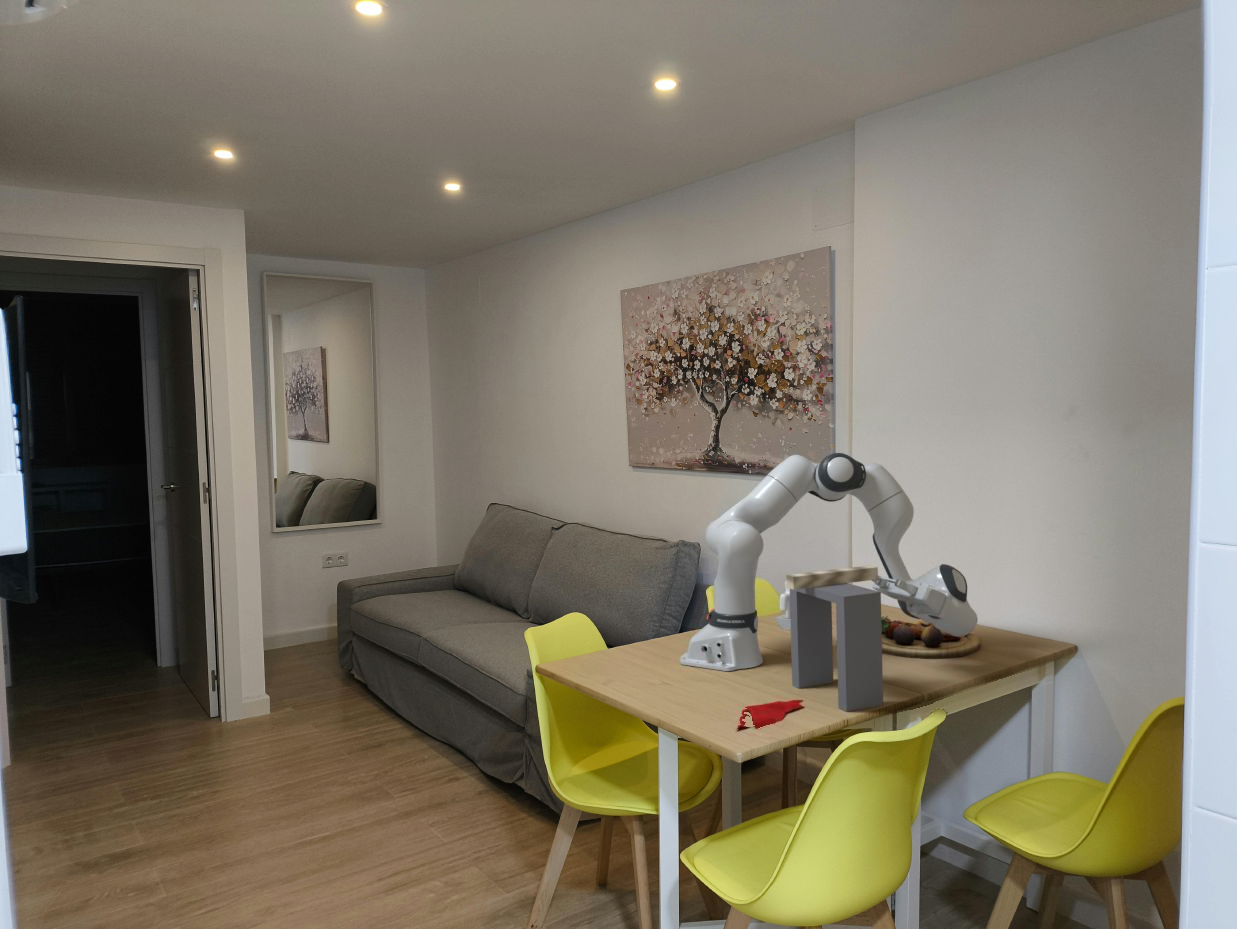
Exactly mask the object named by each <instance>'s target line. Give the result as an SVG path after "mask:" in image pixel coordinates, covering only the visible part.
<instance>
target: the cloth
mask: <svg viewBox="0 0 1237 929" xmlns="http://www.w3.org/2000/svg"><path fill="white" fill-rule="evenodd" d="M803 702H804V700H803V699H792V700H788V701H783V700H782V701H781V700H778V701H773V702H767V703H762V704H755V705H747V706H745V707H744V709H742V710H741V712H742V713H741V714H742V715H743V716H742V715H740V716H741V717H739V719H738V722H739V721H740V724H741V725H739V724H737V727H736V729H735V731H736V730H737V729H739V728H746V726H744V725H745V723H746V722H744V721H742V719H745V717H746V716H749V715H747V714H744V712H749V713H750V714H751V716H752V721H753V725H755V726H754V727H755V728H756V729H757V728H760V727H763V726H766V725H769V726H771V725H770V724H772V725H775V724H776V723H779V721H780V722H782V721H783V720H784V719H785V716H786V713H789V712H793V711H796V710H798V709H801V708H805V706H803V705H802V704H801V703H803ZM745 708H747V709H745ZM749 717H750V716H749ZM766 727H767V726H766ZM763 728H764V727H763ZM746 729H747V728H746ZM760 729H761V728H760ZM739 730H740V729H739Z"/></svg>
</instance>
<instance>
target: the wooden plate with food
mask: <svg viewBox="0 0 1237 929" xmlns="http://www.w3.org/2000/svg"><path fill="white" fill-rule="evenodd" d="M881 625H882V654H885V655H889V656H890V655H891V656H895V657H903V658H914V659H950V658H951V659H953V658H959V657H964V656H967V655H971V654H973V653H975V652H977V651H978V650H979V649H980V648H981V644H982V643H981V640H980V638H979V637H978V636H977V635H975V634H973V633H972V632H970V633H969V634H967V635H965V636H962V637H958V636H953V635H950V634H948V633H945V632H943V631H941V630H939V629H938V628H936V627H935V626H933V624H932V623H927V622H925V621H923V620H919V621H918V622H905V621H901V620H899V619H898V620H891V619H890V618H889V615H886V616H881Z"/></svg>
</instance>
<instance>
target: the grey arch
mask: <svg viewBox="0 0 1237 929" xmlns="http://www.w3.org/2000/svg"><path fill="white" fill-rule="evenodd" d="M881 594H882V593H881V592H879V591H877V590H875V589H871V588H867V587H865V586H864V587H863V586H860V585H856V584H851V583H844V584H836V585H828V586H820V587H811V588H803V589H795V590H793V589H790V618H791V630H790V653H791V681H792V682H791V683H792V684H791V685H792V686H793V687H795V688H797V689H804V688H809V687H811V688H812V687H816V686H822V685H828V684H833V683H834V654H833V653H834V652H833V648H834V647H833V643H834V642H833V611H832V610H833V604H832V603H834V604H835V611H836V612H835V614H836V616H835V618H836V648H837V649H836V653H837V655H836V656H837V657H836V658H837V659H836V661H837V662H836V663H837V664H836V665H837V694H838V696H837V698H838V700H837V701H838V702H837V703H838V709H840V710H842V711H844V712H846V713H848V712H853V711H859V710H864V709H869V708H875V707H880V706H884V684H883V683H884V682H883V680H884V678H883V676H884V675H883V673H884V671H883V653H882V625H881V617H882V595H881Z"/></svg>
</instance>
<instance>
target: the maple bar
mask: <svg viewBox="0 0 1237 929" xmlns="http://www.w3.org/2000/svg"><path fill="white" fill-rule="evenodd" d="M878 576H879V568H878V566H874V565H862V566H854V567H846V568H845V567H844V568H836V569H828V570H818V571H810V572H800V573H793V574H786V576H785V577H786V578H785V579H786V580H785V582H786V581H787V588H790V589H793V590H795V589H803V588H811V587H820V586H828V585H836V584H844V583H848V584H851V583H860V582H869V581H871V580H877V579H878Z"/></svg>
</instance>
